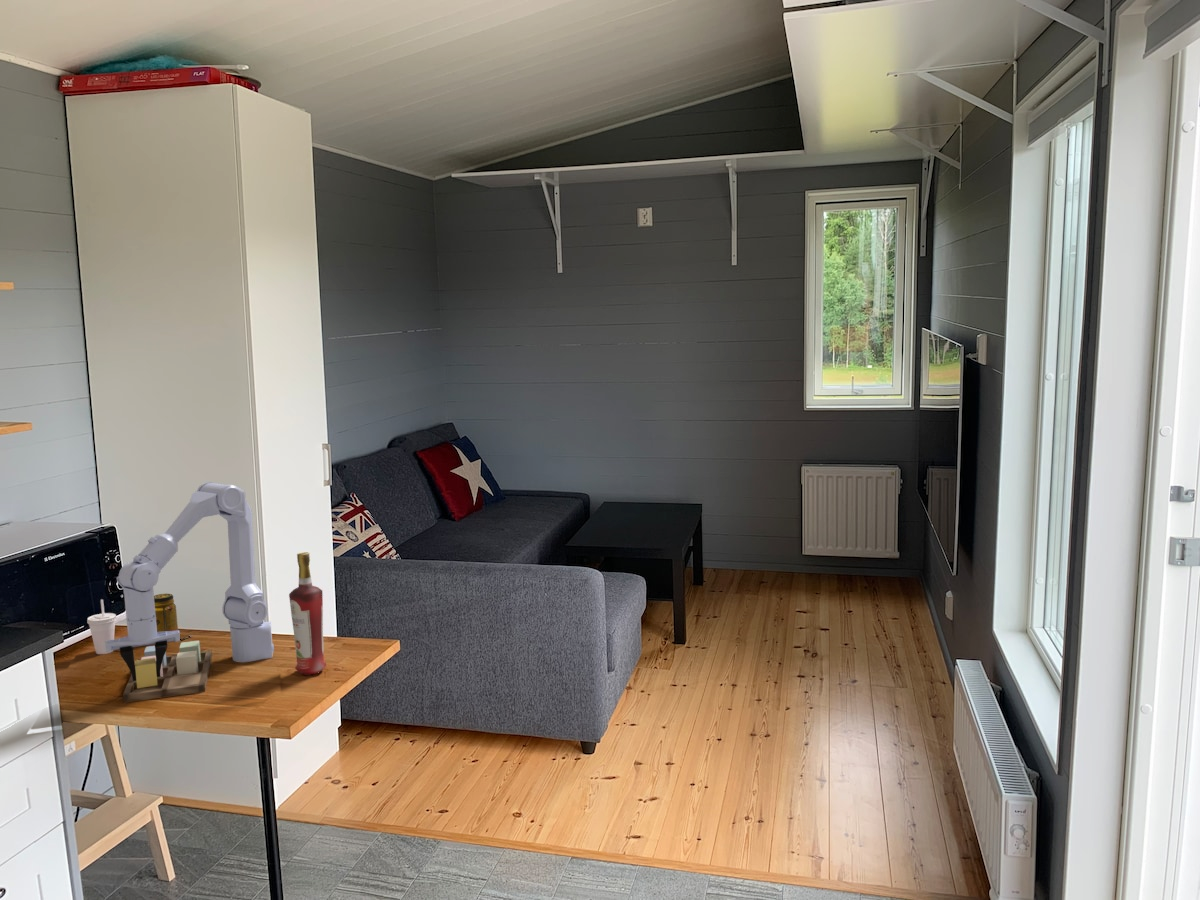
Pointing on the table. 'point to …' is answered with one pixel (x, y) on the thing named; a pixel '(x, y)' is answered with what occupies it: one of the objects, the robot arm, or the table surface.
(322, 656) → the liquor
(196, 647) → the sage block
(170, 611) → the condiment
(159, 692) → the block tray
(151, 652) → the blue block
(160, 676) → the rose block
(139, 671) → the mustard block
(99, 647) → the smoothie
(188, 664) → the cream block
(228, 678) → the table surface
